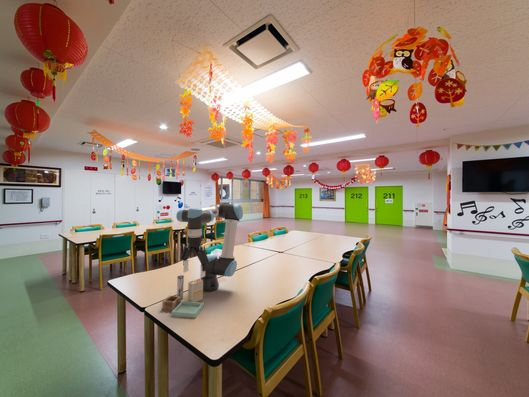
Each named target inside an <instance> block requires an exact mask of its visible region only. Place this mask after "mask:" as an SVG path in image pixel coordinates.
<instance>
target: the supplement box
mask: <svg viewBox="0 0 529 397" xmlns="http://www.w3.org/2000/svg"><path fill="white" fill-rule="evenodd" d="M187 284H188V285H187V287H188V288H187V289H188V290H187V292H188V294H187V302H201V301H203V300H204V298H203V296H204V291H203V280H201V279H200V278H197V279H193V280H192V281H188V283H187Z"/></svg>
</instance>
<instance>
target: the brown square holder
mask: <svg viewBox="0 0 529 397" xmlns="http://www.w3.org/2000/svg"><path fill="white" fill-rule="evenodd" d="M181 302H182V300H181V296H177V295H168V296H167V297H166V298H165V299H164V300H163V301H162V311H169V312H170V311H171V312H172V311H173V310H174V309H175V308H176V307H177V306H178V305H179V304H180V303H181Z"/></svg>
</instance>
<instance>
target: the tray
mask: <svg viewBox="0 0 529 397" xmlns="http://www.w3.org/2000/svg"><path fill="white" fill-rule="evenodd" d="M204 305H205V302H201V301H199V302H188V300H187V301H185V300H181V303H180V304H179V305H178V306H177V307H176V308H175V309H174V310H173V311H171V317H176V318H177V317H178V318H179V317H180V318H191V319H196V318H197V316H198V315H199V314H200V312H201V311H202V310H203V308H204Z"/></svg>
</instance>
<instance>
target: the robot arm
mask: <svg viewBox="0 0 529 397" xmlns="http://www.w3.org/2000/svg"><path fill="white" fill-rule="evenodd" d="M243 210H244V209H243V207H242V205H241V204H238V203H218V204H213V205H210V206H207V207H201V208H200V207H197V208H194V207H193V208H192V207H191V208H188V209H179V210H178V211H177V212H176V220H177V221H178V222H180V223H187V242H186V243H184V246H183V250H182V253H181V255H180V259H181V260H182V264H183V265H182V266H183V273H187V272H189V257H190V256H191V254H195V256H197V259H198V260H199V262H200V273H199V277H200V278H199V279H201V280H203V293H204V292H213V291H215V290H217V289H219V287H220V284H219V279H218V276H220V277H221V276H222V277H230V278H231V277H233V276H234V274H235V272H236V271H237V265H238V262H237V260H236V258H235V256H234V250H235V242H236V235H237V227H238V223H240V220H242V219H243V216H244V212H243ZM215 218H217V219H218V218H220V219H224V222H225V227H224V234H223V242H222V249H221V254H220V255H219V257H218V255H215V254H213V255H208V254H207V252H206V246H205V245H203V246H201V245H202V242H203V241H202V240H203V228H202V227H203V225H204V224H209V223H211V222H213V221H214V219H215Z"/></svg>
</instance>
